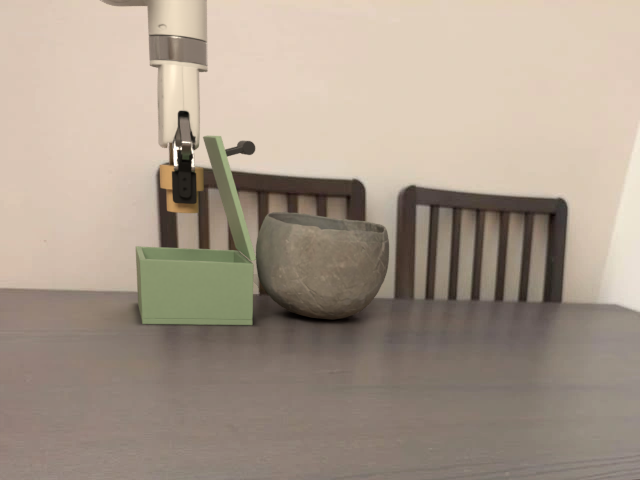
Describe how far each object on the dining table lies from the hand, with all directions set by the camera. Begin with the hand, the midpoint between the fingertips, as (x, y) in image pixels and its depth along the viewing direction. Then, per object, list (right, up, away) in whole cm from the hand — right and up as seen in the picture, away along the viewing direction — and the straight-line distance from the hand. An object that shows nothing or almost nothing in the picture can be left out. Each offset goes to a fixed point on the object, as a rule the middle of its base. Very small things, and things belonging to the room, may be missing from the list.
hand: (182, 199), depth 104 cm
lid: (+6, +1, +2) cm, 6 cm away
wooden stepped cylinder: (0, -1, +1) cm, 2 cm away
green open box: (0, -15, +7) cm, 16 cm away
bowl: (+19, -14, +13) cm, 27 cm away
